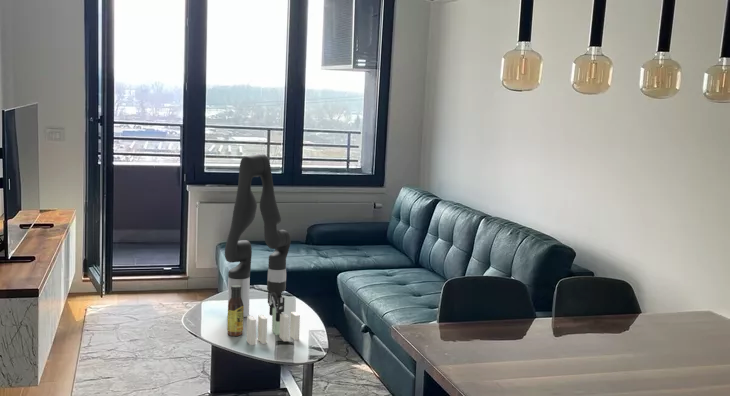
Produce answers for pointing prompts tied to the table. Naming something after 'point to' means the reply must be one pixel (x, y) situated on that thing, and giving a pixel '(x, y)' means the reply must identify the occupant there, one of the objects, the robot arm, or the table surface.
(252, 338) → the domino
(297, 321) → the domino
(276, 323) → the domino
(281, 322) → the domino
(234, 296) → the sauce bottle
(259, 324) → the domino
